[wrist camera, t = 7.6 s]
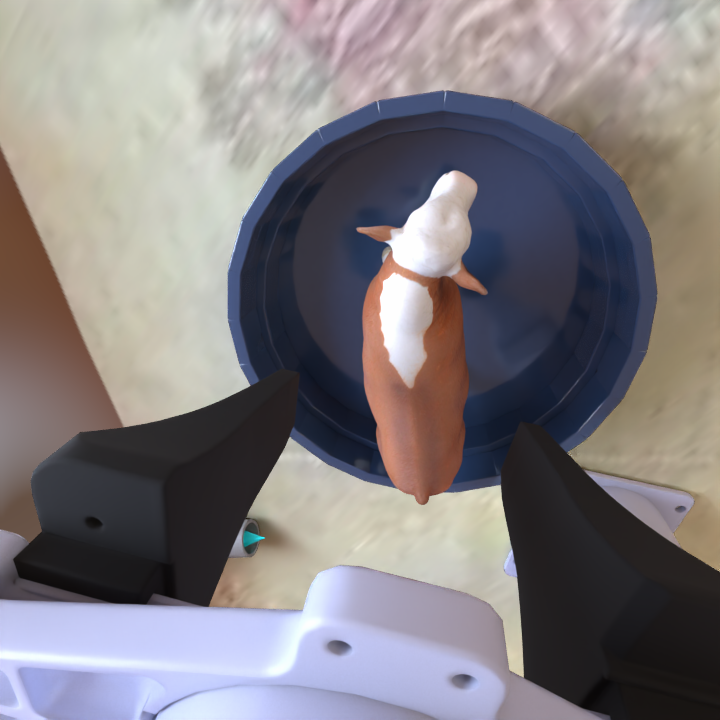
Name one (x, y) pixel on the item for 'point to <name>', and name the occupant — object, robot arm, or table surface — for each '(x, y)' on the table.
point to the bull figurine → (421, 340)
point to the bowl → (482, 259)
